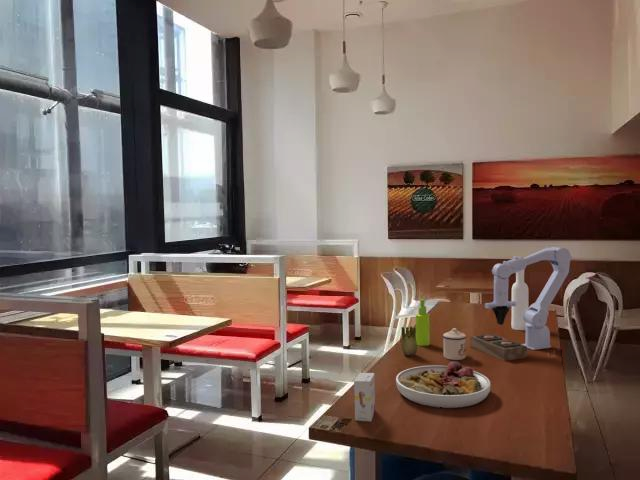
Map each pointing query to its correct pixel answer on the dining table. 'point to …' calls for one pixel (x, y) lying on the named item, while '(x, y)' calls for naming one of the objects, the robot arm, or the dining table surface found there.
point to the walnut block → (498, 347)
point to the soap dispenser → (422, 325)
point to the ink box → (364, 396)
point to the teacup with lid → (454, 345)
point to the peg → (506, 343)
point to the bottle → (519, 301)
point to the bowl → (443, 385)
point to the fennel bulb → (409, 341)
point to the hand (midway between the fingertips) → (500, 324)
